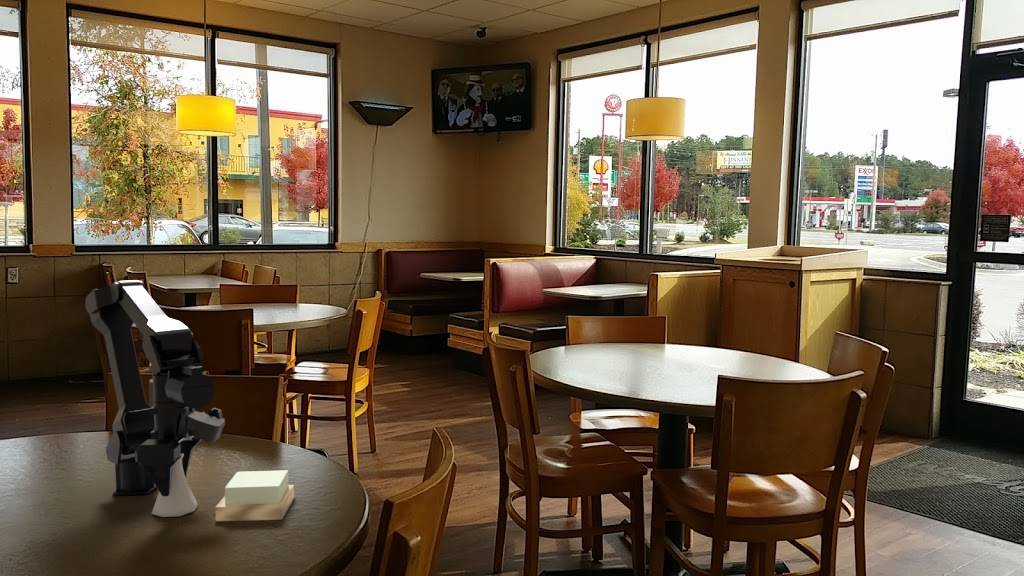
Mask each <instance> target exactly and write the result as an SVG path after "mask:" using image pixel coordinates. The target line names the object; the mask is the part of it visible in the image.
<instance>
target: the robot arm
mask: <svg viewBox="0 0 1024 576" xmlns="http://www.w3.org/2000/svg"><path fill="white" fill-rule="evenodd" d="M84 304H85V309H86V312H87V314H89V317H90V321H91V325H92V326H94V328H96V330H98V332H99V333H100V334H101V335H103V337H104V341H105V347H106V352H107V356H108V362H109V367H110V372H111V377H112V381H113V386H114V391H115V396H116V402H117V407H118V411H117V413H116V416H115V418H114V421H113V423H112V434H111V437H110V439H109V441H108V442H107V445H106V448H105V454H106V458H107V461H109V462H112V463H113V464H114V466H115V468H114V470H115V472H114V473H115V489H114V490H113V491H112V492H111V494H112V495H113V496H121V495H122V496H123V495H130V496H131V495H148V494H150V493H151V492H152V491H153V490H154V489H155V488H157V490H158V493H159V492H160V493H161V495H162V496H169V494H170V488H171V479H172V471H173V466H174V464H175V463H176V462H177V461H178V460H179V459H180V458H181V456H180V453H182V454H184V456H183V458H182V466H183V471H184V475H185V477H186V478H187V476H188V471H189V467H190V463H191V459H192V455H193V451H194V448H195V447H196V446H197V445H198V444H199V443H200V442H201V441H202V440H203V441H204V442H205V443H209V444H214V443H216V441H217V440H218V439H220V437H221V434H222V432H223V429H224V427H225V425H226V418H223V412H222V411H223V409H220V408H216V407H213V408H212V409H210V410H209V411H208V412H207V413H206V412H205V411H202V412H201V411H196V410H197V409H198V410H199V409H202V408H204V407H206V406H207V405H208V404H210V403H211V401H212V400H213V399H214V395H215V391H216V388H215V387H216V386H215V385H214V382H213V380H212V379H211V378H210V377H209V376H208V375H206V374H204V373H203V371H204V370H203V367H204V365H205V363H204V360H203V358H204V354H203V351H202V350H201V348H200V346H199V344H198V341H197V340H196V338H195V335H194V333H193V332H192V331H191V329H190V328H189V327H188V326H187V325H185V324H184V323H183V322H181V321H180V320H177V319H174V318H171V317H168V315H166V313H165V312H164V311H163V310H162V309H161V307H160V306H159V305H158V304H157V302H156V301H155V300H154V299H153V298H152V296H151V295H150V294H149V292H148V291H147V290H146V286H145V282H143V281H142V280H138V279H133V280H117V281H116V282H112V283H111V284H110V285H106V286H103V287H100V288H94V289H92V290H91V292H90V293H88V295H86V297H85V303H84ZM133 325H135V326H136V327H137V329H138V330H139V331H140V333H141V334H142V336H143V339H142V349H143V352H144V355H145V356H146V358H147V360H148V361H149V363H150V366H149V367H148V368H149V369H148V370H149V371H150V372H152V379H153V403H154V406H153V407H151V406H150V404H149V403H148V402H147V399H146V395H145V390H144V385H143V380H142V377H141V376H142V375H141V371H140V366H139V361H138V356H137V352H136V345H135V341H134V337H133V332H132V328H133Z"/></svg>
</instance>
